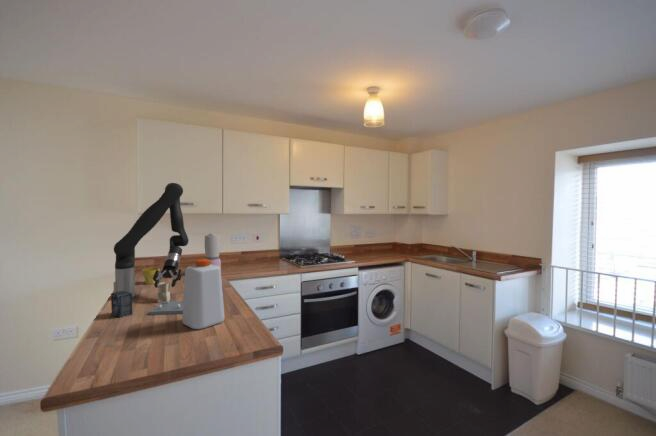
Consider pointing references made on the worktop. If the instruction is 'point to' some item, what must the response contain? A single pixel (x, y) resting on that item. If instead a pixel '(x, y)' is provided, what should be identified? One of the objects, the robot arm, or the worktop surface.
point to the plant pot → (149, 275)
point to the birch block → (163, 291)
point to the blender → (213, 248)
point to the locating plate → (168, 308)
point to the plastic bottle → (203, 295)
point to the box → (121, 303)
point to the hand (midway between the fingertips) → (164, 286)
